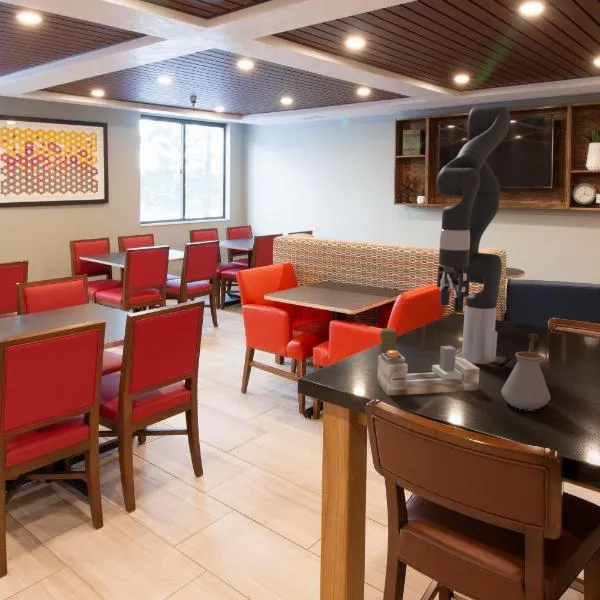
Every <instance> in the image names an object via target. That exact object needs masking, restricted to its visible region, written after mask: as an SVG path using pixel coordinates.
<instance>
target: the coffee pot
mask: <svg viewBox="0 0 600 600" xmlns="http://www.w3.org/2000/svg"><path fill="white" fill-rule="evenodd" d="M536 337H537V338H536ZM528 338H529V343H528V351H518V352H515V354H514V356H515V357H516V361H517V362H516V364H515V365H514V367H513V369H512V371H511V373H510V374H509V376H508V378H506V379H507V380H506V381H505V383H504V384H503V386H502V388H501V395H502V397H503V399H504V400H505V402H507V403H509V404H510V405H511V406H510V407H512V406H513V407H512V408H514V407H516V408H515V409H517V408H519V409H518V410H521V409H525V410H524V411H534V410H533V409H539V408H540V407H541V408H543V407H545V406H546V405H547V404H549V402H550V400H551V398H552V397H551V394H550V391H549V389H548V386H547V382H546V379H545V376H544V374H543V371H542V369H541V366H540V364H541V363H542V362H543V360H544V359H545V356H544V355H542V354H541V353H537V352H534V347H535V341H536V340H537V339H538V338H539V335H537V334H535V333H534V332H533V333H530V334H529V336H528ZM509 404H508V405H509ZM541 408H540V409H541ZM526 409H528V410H526ZM540 409H539V410H540Z"/></svg>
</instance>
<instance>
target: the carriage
mask: <svg viewBox="0 0 600 600" xmlns="http://www.w3.org/2000/svg"><path fill="white" fill-rule="evenodd" d="M456 352H457V348H455V347H454V346H452V345H441V346H440V351H439V353H440V354H439V364H432V365H431V372H432V373H433V372H435V373H436V374H437V375H439V376H440V377H441V378H442V379H444V380H448V379H462V373H461V372H460V371H458V370H457V369H455V359H456Z"/></svg>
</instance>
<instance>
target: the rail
mask: <svg viewBox="0 0 600 600" xmlns="http://www.w3.org/2000/svg"><path fill="white" fill-rule="evenodd" d="M377 363H378V364H377V377H376V378H377V382H376V385H378V386H379V388H380V387H381V388H382V389H381V388H380V389H381V390H382V391H383V392H384V393H385V394H386V395H387V396H403V395H421V394H423V395H424V394H437V393H440V392H441V393H452V392H453V393H454V392H455V393H457V392H456V391H458V392H473V391H474V392H475V391H479V381H480V367H477V366H476V364H474V363H470V362H468V361H467V360H465V359H462V358H455V369H457V370H458V371H460V372H461V373H462V379H448V380H444V379H442V378H441V377H440V376H439V375H437V374H436V373H435V372H433V371H432V372H419V373H417V372H416V373H408V370H409V369H408V368H409V365H408V364H407V363H406V357H404V356H403V355H402V354H401V353H400V352H399V358H387V353H383V354H381V356H379V355H378V356H377ZM441 393H440V394H441Z"/></svg>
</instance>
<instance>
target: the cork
mask: <svg viewBox="0 0 600 600" xmlns="http://www.w3.org/2000/svg"><path fill="white" fill-rule="evenodd" d="M379 337H380V340H381V343H380V346H379V353H378V356H381V354H383V353H387V351H390V350H394V351H397V345H396V344H397V343H396V340H397V339H398V332H397V330H396V329H394V328H390V327H389V328H383V329H381V330H380V332H379Z"/></svg>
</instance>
